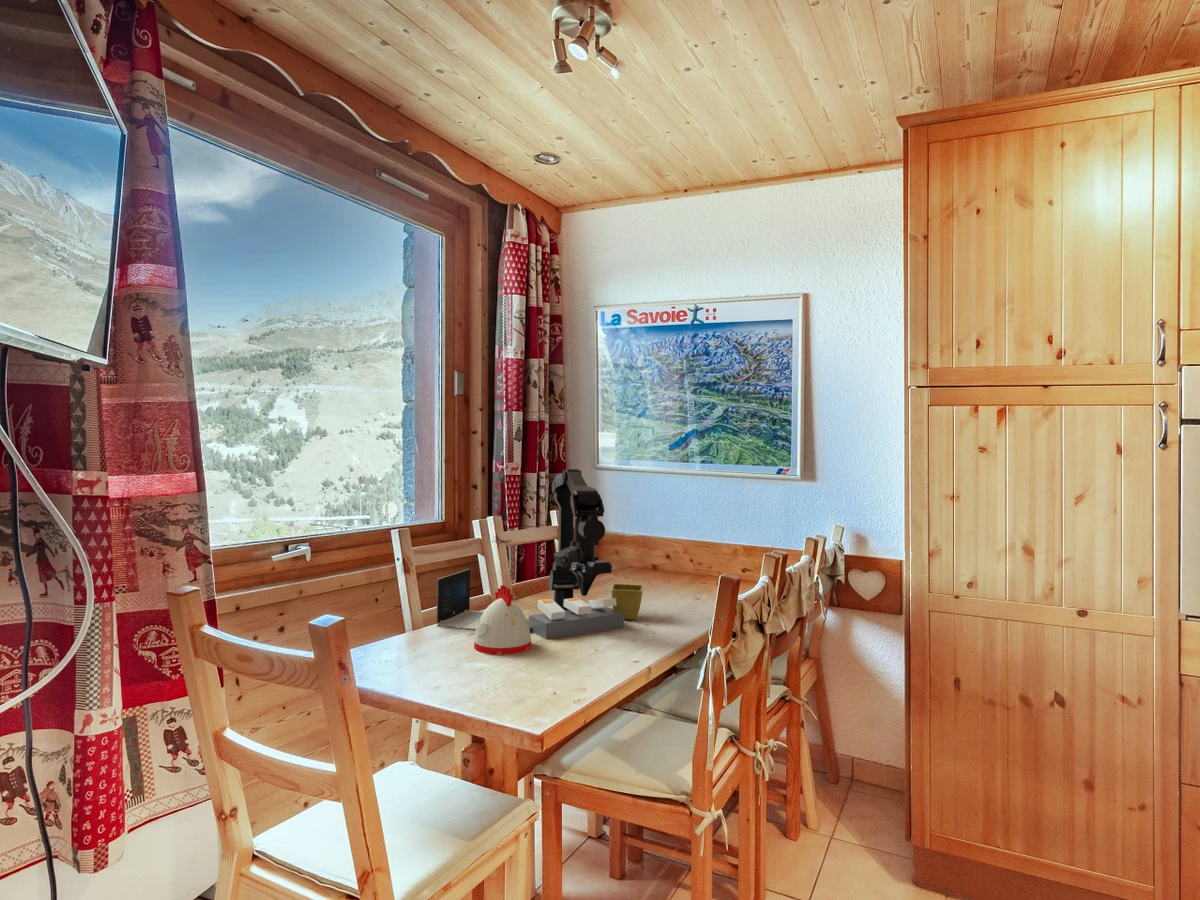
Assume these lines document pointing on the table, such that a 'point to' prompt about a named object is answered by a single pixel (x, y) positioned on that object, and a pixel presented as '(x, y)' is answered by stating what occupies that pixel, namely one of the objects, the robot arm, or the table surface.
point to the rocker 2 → (577, 606)
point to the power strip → (576, 623)
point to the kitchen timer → (502, 627)
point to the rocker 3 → (602, 602)
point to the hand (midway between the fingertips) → (584, 595)
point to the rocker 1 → (551, 609)
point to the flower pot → (627, 599)
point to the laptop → (455, 602)
